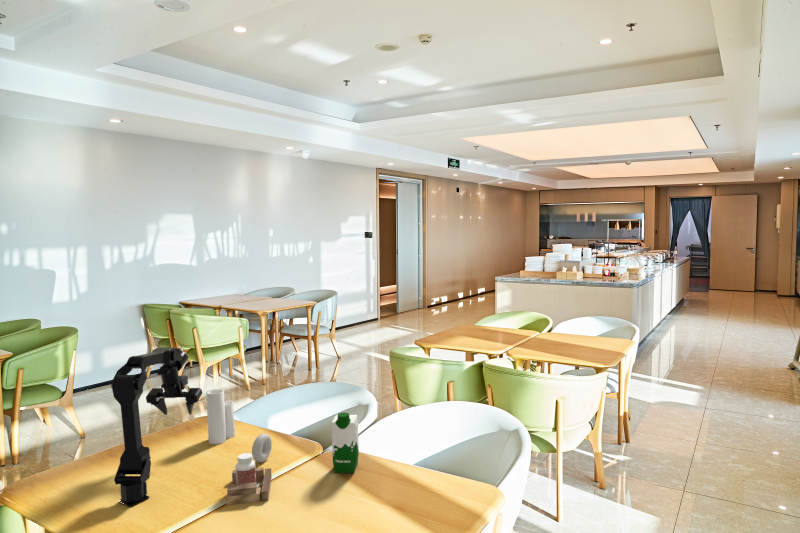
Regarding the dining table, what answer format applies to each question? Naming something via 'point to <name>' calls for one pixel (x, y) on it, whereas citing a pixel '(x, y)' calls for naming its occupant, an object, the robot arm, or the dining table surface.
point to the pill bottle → (245, 469)
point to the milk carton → (345, 443)
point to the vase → (219, 417)
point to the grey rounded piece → (261, 447)
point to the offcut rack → (249, 488)
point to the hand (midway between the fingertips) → (178, 414)
